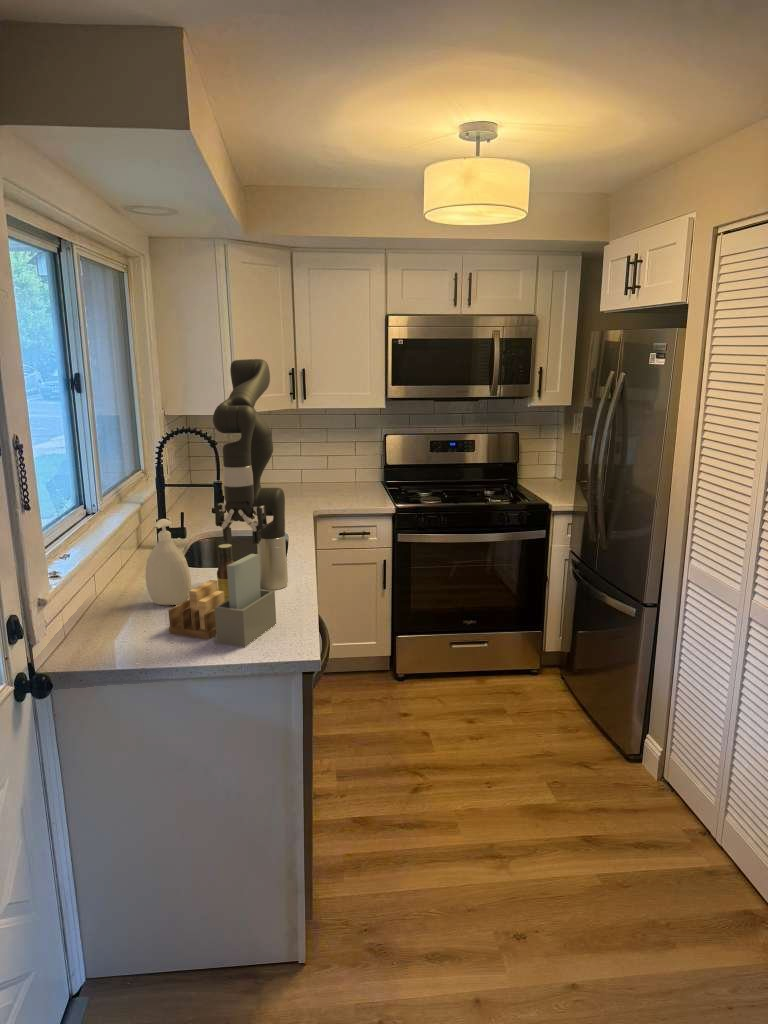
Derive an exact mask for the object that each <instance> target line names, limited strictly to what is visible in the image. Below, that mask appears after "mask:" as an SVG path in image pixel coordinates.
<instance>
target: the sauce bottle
mask: <svg viewBox="0 0 768 1024" xmlns="http://www.w3.org/2000/svg"><path fill="white" fill-rule="evenodd" d="M217 551H218V553H219V562H218V567H217V571H216V579H217V580H216V581H217V587H218V591H224V599H225V601H226V600H228V599H229V591H228V575H227V565H229V564H231V563H234V562H235V561H234V560H233V559H234V558H233V552H232V551H233V545H232V544H230V543H223V544H218V546H217Z"/></svg>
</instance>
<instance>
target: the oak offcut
mask: <svg viewBox="0 0 768 1024" xmlns="http://www.w3.org/2000/svg"><path fill="white" fill-rule="evenodd" d="M216 591H218V581H217V580H215V579H209V580H207V581H206V582H203V583H201V584H200V585H197V586H196V587H193V588H191V590H190V591H189V595H190V596H189V599H190V608H191V621H192V613H193V612H194V611H196V610H198V609H199V605H198V601H199V600H201V599H203V598H205V597H207V596H208V595H210V594H212V593H214V592H216ZM192 625H193V621H192Z"/></svg>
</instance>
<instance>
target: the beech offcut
mask: <svg viewBox="0 0 768 1024" xmlns="http://www.w3.org/2000/svg"><path fill="white" fill-rule="evenodd" d="M224 601H225V599H224V591H216V592H214V593H212V594H210V595H208V596H207V597H205V598H203V599H201V600H199V601H198V605H199V619H200V629H204V630H205V623H204V614H206V613H207V612H209V611H211V610H213V609H214V607H216V606H218V605H219V604H221V603H223V602H224Z"/></svg>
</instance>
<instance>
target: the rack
mask: <svg viewBox="0 0 768 1024" xmlns="http://www.w3.org/2000/svg"><path fill="white" fill-rule="evenodd" d="M167 611H168V620H169V626H168V631H169V632H168V633H169V635H175V636H182V637H188V638H195V639H200V640H201V639H203V640H211V639H213V638H214V637H216V623H215V609H213V610H211V611H209V612H207V613H206V614H204V623H205V630H204V629H200V619H199V609H198V610H196V611H194V612H193V613H192V621H193V625H192V621H191V608H190V598H188V599H187V600H186V601H184V602H182V603H180V604H179V605H177V606H172V607H171V608H170V609H168V610H167Z"/></svg>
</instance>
